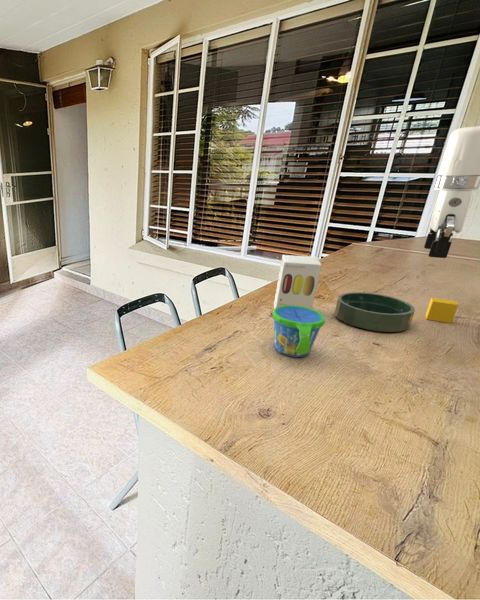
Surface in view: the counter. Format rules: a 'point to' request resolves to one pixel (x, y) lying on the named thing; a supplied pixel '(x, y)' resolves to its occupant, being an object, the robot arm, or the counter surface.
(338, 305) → the basin
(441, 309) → the sponge
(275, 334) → the snack cup
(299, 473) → the counter surface
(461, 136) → the robot arm
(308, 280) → the supplement box
